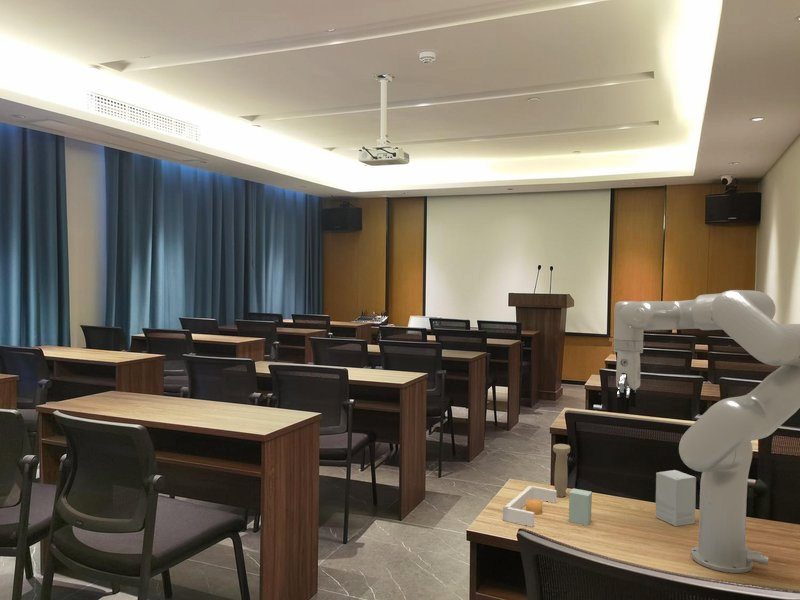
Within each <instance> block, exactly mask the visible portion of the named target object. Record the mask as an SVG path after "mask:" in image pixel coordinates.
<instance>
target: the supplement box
mask: <svg viewBox="0 0 800 600" xmlns="http://www.w3.org/2000/svg"><path fill="white" fill-rule="evenodd" d="M655 476H656V477H655V518H657V519H659V520H661V521H663V522H665V523H668V524H670V525H673V526H675V527H680V526H686V525H687V526H688V525H691V524H695V523H696V500H697V499H696V498H697V497H696V494H697V493H696V492H697V490H696V489H697V477H696V476H693V475H690V474H688V473H684V472H682V471H680V470H676V469H673V470H665V471H659V472H655Z"/></svg>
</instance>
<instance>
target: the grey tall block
mask: <svg viewBox="0 0 800 600" xmlns="http://www.w3.org/2000/svg"><path fill="white" fill-rule="evenodd" d="M592 496H593V492H592V491H590V490H585V489H578V488H575V487H574V488H572V489H571V490H570V491H569V498H568V502H569V503H568V522H569V523H571V522H572V524H577V525H583V526H589V525H590V523H591V522H592V501H593V500H592V499H593V497H592Z"/></svg>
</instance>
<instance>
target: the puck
mask: <svg viewBox="0 0 800 600" xmlns="http://www.w3.org/2000/svg"><path fill="white" fill-rule="evenodd" d="M525 509H526V510H525V511H530V512H534V514H535V515H534V516H537V515H541V514H543V501H541V500H538V499H528V500H526V505H525Z"/></svg>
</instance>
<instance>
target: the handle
mask: <svg viewBox="0 0 800 600" xmlns="http://www.w3.org/2000/svg"><path fill="white" fill-rule="evenodd" d="M552 451H553V452H554V453H555V463H554V479H553V481H554V490H557V497H558V496H560V498H563V496H565V497H566V495H567V489H568V454H570V453H571V446H570V444H565V443H556V444H553V446H552Z"/></svg>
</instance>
